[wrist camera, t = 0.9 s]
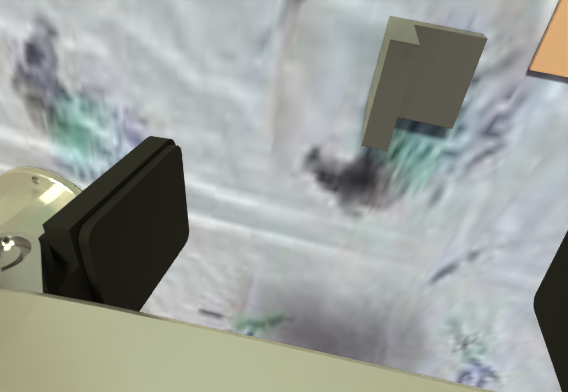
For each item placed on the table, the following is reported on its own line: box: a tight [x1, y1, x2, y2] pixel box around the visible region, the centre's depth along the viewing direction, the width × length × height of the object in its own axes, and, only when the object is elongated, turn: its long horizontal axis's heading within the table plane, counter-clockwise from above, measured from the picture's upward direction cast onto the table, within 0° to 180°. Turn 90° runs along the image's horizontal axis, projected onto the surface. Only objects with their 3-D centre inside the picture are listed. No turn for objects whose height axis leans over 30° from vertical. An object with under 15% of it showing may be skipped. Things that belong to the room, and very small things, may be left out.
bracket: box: [361, 16, 487, 151], centre depth 26 cm, size 6×6×8 cm
